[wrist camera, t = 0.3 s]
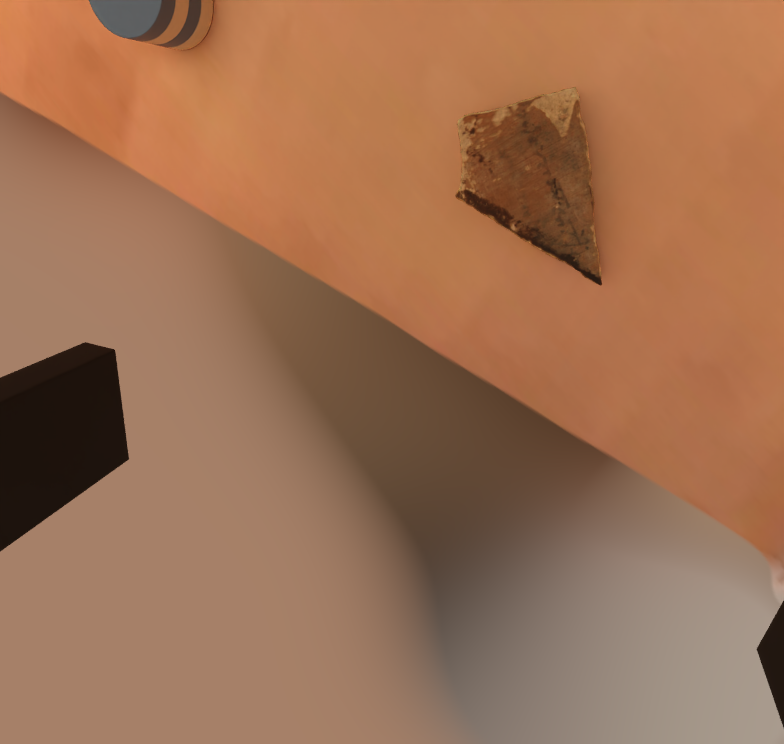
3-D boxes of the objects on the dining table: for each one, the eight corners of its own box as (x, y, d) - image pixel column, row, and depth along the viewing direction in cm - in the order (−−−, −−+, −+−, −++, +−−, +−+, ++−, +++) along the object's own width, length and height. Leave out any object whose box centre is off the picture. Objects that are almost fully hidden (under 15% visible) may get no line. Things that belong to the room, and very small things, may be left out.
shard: (601, 280, 33) (602, 287, 32) (477, 298, 36) (472, 305, 34) (582, 85, 30) (582, 82, 28) (446, 122, 32) (440, 121, 31)
